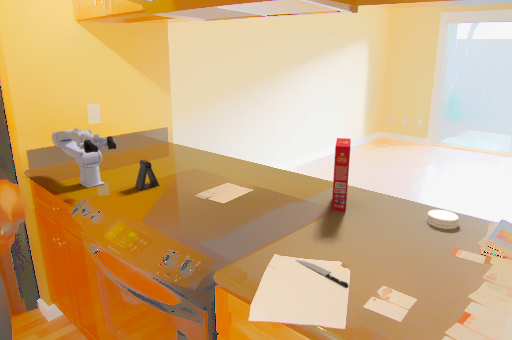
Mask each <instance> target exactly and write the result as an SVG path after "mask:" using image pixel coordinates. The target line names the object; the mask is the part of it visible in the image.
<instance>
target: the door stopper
mask: <svg viewBox="0 0 512 340" xmlns="http://www.w3.org/2000/svg"><path fill="white" fill-rule="evenodd" d="M136 177H137V178H136V182H135V187H136V188H137V189H138V190H140V191H143V189H144V190H147V188H149V189H152V188H151V187H153V188H157V187H156V186H158V187H160V184H159V181H158V179H157V177H156V175H155V173H154V170H153V168H152V163H151V162H150V161H148V160H146V159H140V160H139V170H138V174H137V176H136ZM147 178H148V180H149V182H147V183H146V180H147Z"/></svg>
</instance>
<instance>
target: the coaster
mask: <svg viewBox="0 0 512 340" xmlns="http://www.w3.org/2000/svg"><path fill="white" fill-rule="evenodd" d="M459 220H460V217H459V215H457V214H456V213H455V212H452V211H450V210H446V209H445V210H444V209H431V210H429V211H428V212H427V216H426V223H427V224H428V225H430V226H431V227H434V228H437V229H441V230H453V229H457V227H458V226H459V223H460V221H459Z"/></svg>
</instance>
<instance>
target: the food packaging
mask: <svg viewBox="0 0 512 340" xmlns="http://www.w3.org/2000/svg"><path fill="white" fill-rule="evenodd" d="M351 142H352V141H351V138H344V137H340V138H339V137H338V138H336V141H335V147H334V149H335V150H334V165H333V180H332V181H333V182H332V184H333V185H332V196H331V198H332V199H331V200H332V201H331V211H337V212H339V211H340V212H347V199H348V198H347V197H348V185H349V184H348V183H349V172H350V159H351V158H350V157H351Z"/></svg>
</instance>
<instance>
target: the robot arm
mask: <svg viewBox="0 0 512 340" xmlns="http://www.w3.org/2000/svg"><path fill="white" fill-rule="evenodd" d="M51 140H52V143H53V145H54V146H55V147H57V148H59V149H61V150H62V151H63V152H64V153H65V154H66V155H68V156H70V157H73V158H74V161H75V163H76V164H77V166H79V176H80V178H79V179H80V181H79V182H78V184H80V185H82V186H83V187H85V188H92V187H96V186H101V185H104V184H105V182H104V181H101V173H100V167H99V166H100V165H101V163H102V161H103V155H102V152H101V150H102V149H105V148H107V149H108V150H117V144H116V141H115V140H116V139H114V137H113V136H111V135H110V136H106V137H102V136H100V135H99V134H98V133H96V134H93V133H92V131H91V130H90V129H87V130H82V129H79V128H74V129H67V130H61V131H53V132H52V134H51Z"/></svg>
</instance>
